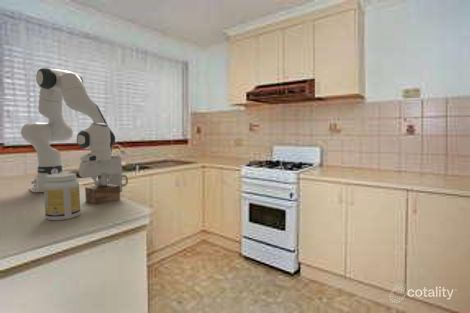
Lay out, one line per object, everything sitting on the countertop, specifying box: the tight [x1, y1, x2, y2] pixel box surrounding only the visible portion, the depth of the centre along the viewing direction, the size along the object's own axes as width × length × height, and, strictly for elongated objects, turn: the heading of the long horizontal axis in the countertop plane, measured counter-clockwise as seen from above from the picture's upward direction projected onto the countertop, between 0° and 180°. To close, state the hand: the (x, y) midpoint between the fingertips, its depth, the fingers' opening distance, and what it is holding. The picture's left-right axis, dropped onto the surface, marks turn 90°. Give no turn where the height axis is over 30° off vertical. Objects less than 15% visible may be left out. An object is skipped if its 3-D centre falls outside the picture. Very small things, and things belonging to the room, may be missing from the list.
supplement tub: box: [43, 172, 81, 221], centre depth 115 cm, size 12×12×17 cm
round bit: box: [97, 173, 107, 188], centre depth 142 cm, size 4×4×11 cm
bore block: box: [84, 184, 121, 205], centre depth 142 cm, size 10×12×7 cm
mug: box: [107, 172, 129, 193], centre depth 163 cm, size 12×8×11 cm
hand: (102, 184), depth 142 cm, fingers closed on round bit, 4 cm apart
